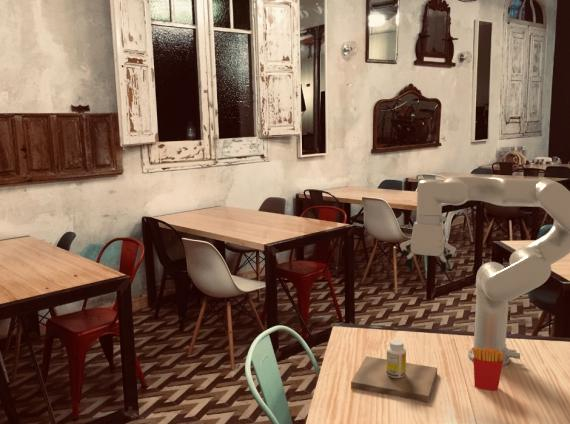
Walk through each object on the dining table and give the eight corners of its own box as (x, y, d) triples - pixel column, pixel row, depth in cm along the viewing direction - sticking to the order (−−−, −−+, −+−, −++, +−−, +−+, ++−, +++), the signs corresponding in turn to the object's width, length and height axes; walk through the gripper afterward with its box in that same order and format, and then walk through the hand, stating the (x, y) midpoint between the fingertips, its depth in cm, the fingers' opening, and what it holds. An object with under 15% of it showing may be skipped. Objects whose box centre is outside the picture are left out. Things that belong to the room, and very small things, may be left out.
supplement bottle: (402, 369, 168) (403, 337, 166) (407, 378, 163) (409, 345, 161) (383, 370, 167) (384, 338, 166) (389, 379, 162) (390, 346, 160)
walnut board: (437, 373, 169) (437, 367, 169) (428, 402, 153) (428, 395, 153) (366, 361, 178) (366, 356, 177) (350, 388, 161) (351, 381, 161)
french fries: (500, 386, 162) (503, 347, 160) (501, 392, 158) (503, 353, 156) (470, 381, 165) (472, 343, 162) (469, 387, 161) (472, 348, 159)
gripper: (458, 218, 174) (455, 271, 177) (403, 215, 181) (401, 265, 184) (456, 223, 167) (453, 278, 171) (398, 219, 174) (397, 272, 177)
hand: (426, 271), depth 177 cm, fingers open, 9 cm apart
